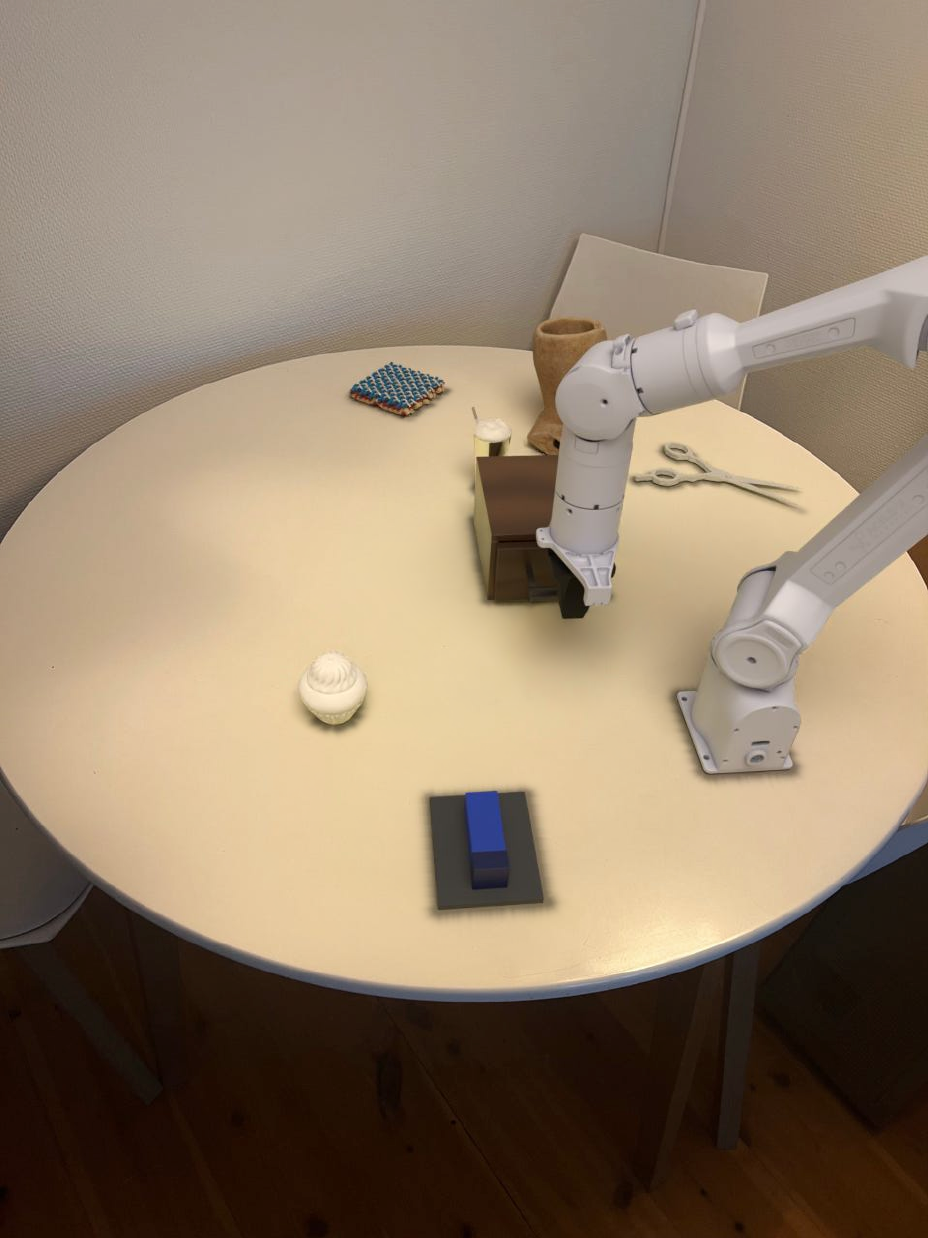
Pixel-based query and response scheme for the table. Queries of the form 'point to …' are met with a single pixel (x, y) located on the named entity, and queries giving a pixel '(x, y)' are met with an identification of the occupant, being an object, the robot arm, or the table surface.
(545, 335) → the stone cup
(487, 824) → the block
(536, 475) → the cabinet
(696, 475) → the scissors
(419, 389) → the woven mat
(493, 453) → the milkshake
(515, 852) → the desk pad
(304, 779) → the table surface
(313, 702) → the muffin
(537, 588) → the drawer
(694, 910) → the table surface
